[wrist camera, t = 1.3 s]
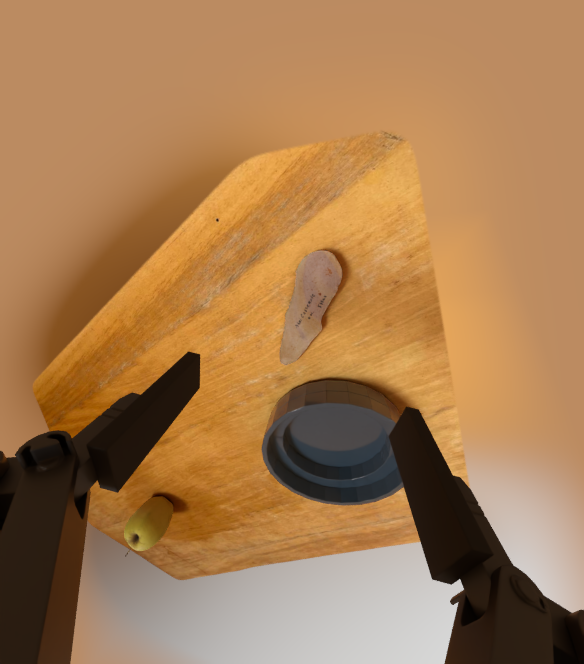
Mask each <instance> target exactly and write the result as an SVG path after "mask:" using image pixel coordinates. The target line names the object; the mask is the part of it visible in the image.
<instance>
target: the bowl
mask: <svg viewBox="0 0 584 664" xmlns="http://www.w3.org/2000/svg"><path fill="white" fill-rule="evenodd" d="M400 416H401V414H400V412H399V411H398V409H397V407H396V406H395V405H394V404H393V403H392V402H390V401H389V400H388V399H387V398H386V397H385V396H384V395H383V394H381V393H379V392H377V391H375V390H373V389H371V388H369V387H367V386H364V385H360V384H356V383H352V382H348V381H336V380H324V381H318V382H313V383H308V384H305V385H302V386H300V387H298V388H295V389H293V390H291V391H290V392H288V393H287V394H286V395H285V396H283V397H282V398H281V399H280V400H279V401H278V402H277V404H276V405H275V407H274V408H273V410H272V411H271V415H270V418H269V422H268V425H267V429H266V432H265V435H264V440H263V444H262V454H263V460H264V462H265V464H266V466H267V468H268V470H269V472H270V473H271V474H272V475H273V476H274V477H275V479H276V480H277V481H278V482H279V483H280V484H282V485H283V486H285V487H286V488H288V489H289V490H291V491H292V492H294V493H296V494H298V495H300V496H303V497H305V498H307V499H310V500H314V501H317V502H321V503H326V504H334V505H362V504H367V503H372V502H376V501H379V500H381V499H384V498H386V497H389V496H391V495H393V494H394V493H396V492H397V491H399V490H400V489H401V488H403V487H404V486H403V482H402V479H401V476H400V473H399V469H398V466H397V463H396V460H395V456H394V453H393V450H392V446H391V443H390V440H389V437H388V436H389V435H390V433H391V431H392V430H393V428H394V426H395V425H396V423H397V421H398V420H399V418H400Z"/></svg>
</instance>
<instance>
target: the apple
mask: <svg viewBox="0 0 584 664" xmlns="http://www.w3.org/2000/svg"><path fill="white" fill-rule="evenodd" d="M172 514H173V504H172V503H171V502H169V501H168V500H167V499H166V498H165V497H163V496H160V497H153V498H150V499H149V500H147V501H146V502H145V503H144V504H143V505H142V506H141V507H140V508H139V509H138V510H137V511H136V512H135V513H134V514H133V515H132V517H131V518H130V519H129V521H128V522H127V524H126V526H125V530H124V537H125V540H126V541H127V543H128V544H129V546H131V547H132V548H133V549H134V550H137V551H144V550H147V549H149V548H151V547H152V546H154V545H155V544H156V543H157V542H158V541H159V540H160V539H161V538H162V536H163V535H164V534H165V532H166V530H167V528H168V526H169V523H170V521H171V518H172ZM130 549H131V548H130ZM127 554H128V553H127Z"/></svg>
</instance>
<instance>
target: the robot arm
mask: <svg viewBox="0 0 584 664" xmlns="http://www.w3.org/2000/svg"><path fill="white" fill-rule="evenodd" d="M199 388H200V354H196V353H192V352H187V353H186V354H185V355H184V356H183V357H182V358H181V359H180V360H179V361H178V362H177V363H175V364H174V365H173V366H172V367H171V368H170V369H169V370H168V371H167V372H166V373H164V374H163V375H162V376H161V377H160V378H159V379H158V380H157V381H156V382H155V383H153V384H152V385H151V386H150V387H149V388H148V389H147V390H146V391H145V392H144V393H142V394H141V395H139V394H135V393H130V394H128V395H126V396H124V397H122V398H120V399H119V400H118V401H117V402H115V403H114V404H113V405H112V406H111V407H110V408H109V409H107V410H106V411H105V412H103V413H102V415H101V416H99V417H97V418H96V419H95V420H94V421H93V422H91V423H90V424H89V425H88V426H87V427H85V428H84V429H83V430H82V431H81V432H79V433H78V434H77V435H76V436H75V437H73V438H72V439H71V436H70V434H68V433H67V432H65V431H59V430H58V431H51V432H47V433H44V434H41V435H38V436H36V437H34V438H33V439H31V440H29V441H28V442H26V443H25V444H24V445H23V446H21V447H20V448H19V450H18V451H17V452H16V454H15V456H16V457H12V458H6V457H5V455H4V453H3V452H2V451H0V664H70V661H71V652H72V643H73V635H74V626H75V619H76V611H77V602H78V593H79V585H80V577H81V569H82V560H83V552H84V543H85V534H86V527H87V518H88V510H89V502H90V493H91V492H90V488H91V487H92V486H93V484H94V483H95V482H96V481H97V480H98V482H99V485H100V488H103V489H107V490H110V491H114V492H117V493H118V492H119V490H120V489H121V488H122V487H123V485H124V484H125V483H126V481H127V480H128V479H129V478H130V476H131V475H132V474H133V472H134V471H135V470H136V469H137V467H138V466H139V465H140V464H141V462H142V461H143V460H144V458H145V457H146V456H147V455H148V453H149V452H150V451H151V449H152V448H153V447H154V446H155V444H156V443H157V442H158V440H159V439H160V438H161V437H162V435H163V434H164V433H165V432H166V430H167V429H168V428H169V426H170V425H171V424H172V423H173V421H174V420H175V419H176V417H177V416H178V415H179V414H180V412H181V411H182V410H183V408H184V407H185V406H186V405H187V403H188V402H189V401H190V399H191V398H192V397H193V396H194V394H195V393H196V392H197V391H198V389H199ZM388 437H389V440H390V443H391V446H392V450H393V453H394V456H395V460H396V463H397V466H398V469H399V473H400V476H401V479H402V482H403V486H404V489H405V492H406V495H407V499H408V502H409V505H410V508H411V512H412V515H413V518H414V522H415V525H416V528H417V531H418V535H419V538H420V541H421V544H422V548H423V551H424V554H425V557H426V561H427V564H428V567H429V570H430V574H431V577H432V579H433V580H437V581H440V582H444V583H447V584H453V583H454V582H456V581H457V580H459V579H460V580H461V582H462V585H463V588H464V590H463V591H462V592H460V593H458V594H457V595H456V596H454V597H453V598H452V599H451V601H450V602H451V604H452V605H454V604H455V603H457V602H459V603H458V607H457V612H456V616H455V620H454V626H453V629H452V634H451V638H450V642H449V647H448V651H447V656H446V660H445V664H584V610H579V611H576V612H574V613H571V612H569V611H568V610H566V609H564V608H563V607H561V606H560V605H558V604H556V603H555V602H553V601H552V600H550V599H548V598H547V597H545V596H544V595H543V594H542V593H541V591H540V590H539V589H538V587H537V586H536V585H535V584H534V582H533V581H532V580H531V579H530V578H529V577H528V576H527V575H526V574H525V573H523V572H522V571H521V570H519V569H518V568H517V567H515V566H513V564H512V563H511V561H510V559H509V557H508V556H507V554H506V552H505V550H504V549H503V547H502V545H501V543H500V541H499V539H498V538H497V536H496V534H495V532H494V531H493V529H492V527H491V525H490V523H489V522H488V520H487V518H486V517H485V516H484V513H483V511H482V509H481V507H480V506H479V505H478V502H477V500H476V498H475V497H474V495H473V493H472V491H471V490H470V488H469V487H468V486H467V485H466V484H465V482H464V481H463V480H462V479H461V478H460V477H456V476H453V475H452V473H451V471H450V469H449V467H448V465H447V463H446V461H445V459H444V457H443V456H442V454H441V452H440V450H439V448H438V446H437V444H436V442H435V440H434V438H433V436H432V434H431V432H430V430H429V429H428V427H427V425H426V423H425V421H424V419H423V417H422V415H421V413H420V411H419V410H418V409H414V408H410V407H406V408H405V410H404V411H403V413H402V415H401V416H400V418H399V420H398V421H397V423H396V425H395V426H394V428H393V430H392V431H391V433H390V435H389V436H388Z"/></svg>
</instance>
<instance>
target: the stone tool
mask: <svg viewBox="0 0 584 664" xmlns="http://www.w3.org/2000/svg"><path fill="white" fill-rule="evenodd" d="M342 276H343V273H342V268H341V266H340V263H339V262H338V260H337V258H336V256H335V255H334V254H332V252H329V251H326V250H318V251H315V252H312V253H310V254H308V255H307V256H305V257H304V259H302V261H301V262H300V264H299V266H298V268H297V270H296V281H295V287H294V292H293V296H292V299H291V301H290V305H289V308H288V310H287V312H286V315H285V327H284V332H283V338H282V343H281V347H280V362H281V363H282V364H284V365H288V364H291V363H293V362H294V361H297V360H298V359H299V356H301V355H302V353H303V352H304V350H305V349H306V348H307V347H308V346H309V344H310V343H311V341H312V340H313V339H314V338H315V337H316V336H317V335H318V333H319V332H320V331H321V330H322V324H321V319H322V316H323V314H324V312H325V310H326V308H327V307H328V305H329V303H330V302H331V299H332V298H333V297H334V296H335V294H336V292H337V289H338V286H339V284H340V282H341V279H342Z"/></svg>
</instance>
